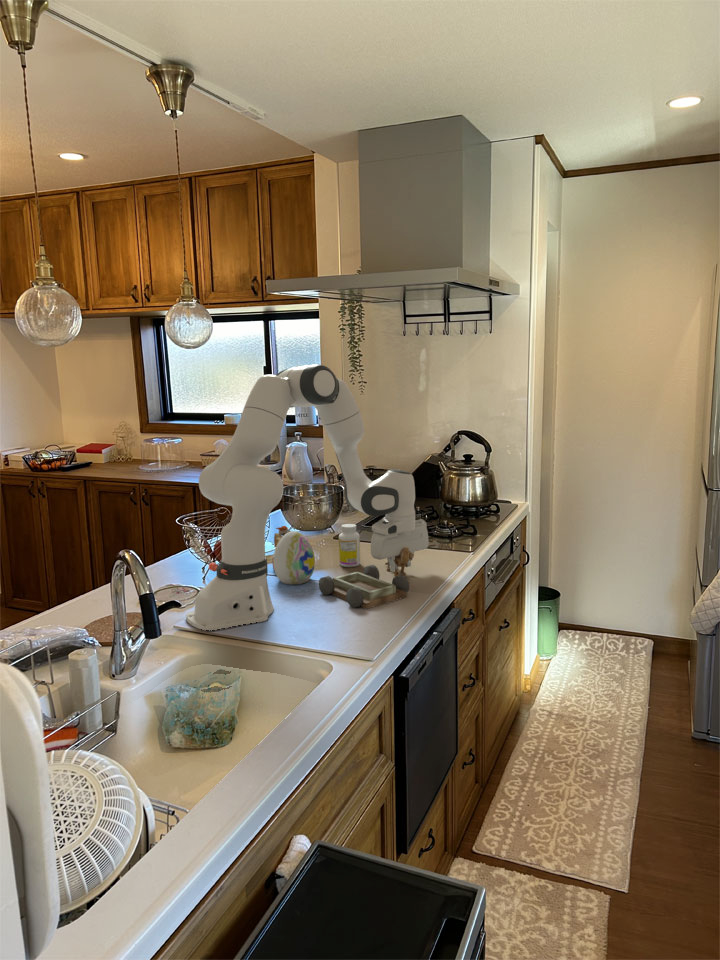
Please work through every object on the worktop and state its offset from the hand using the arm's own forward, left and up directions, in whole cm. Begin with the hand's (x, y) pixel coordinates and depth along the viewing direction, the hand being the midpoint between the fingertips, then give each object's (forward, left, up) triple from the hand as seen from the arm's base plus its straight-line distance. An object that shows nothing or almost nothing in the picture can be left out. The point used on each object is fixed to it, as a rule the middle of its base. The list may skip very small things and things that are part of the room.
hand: (400, 568), depth 217 cm
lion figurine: (+1, +3, -2) cm, 4 cm away
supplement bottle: (-5, +19, -2) cm, 20 cm away
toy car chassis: (-19, -6, -2) cm, 20 cm away
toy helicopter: (-21, +33, -3) cm, 39 cm away
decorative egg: (-27, +17, -3) cm, 32 cm away
